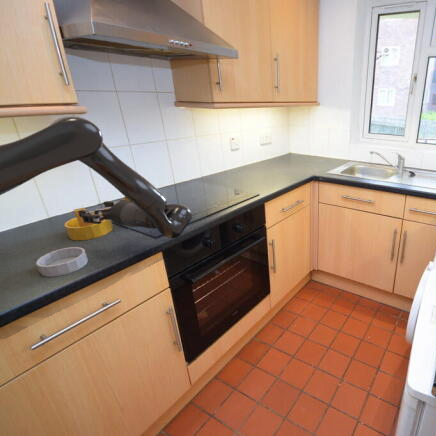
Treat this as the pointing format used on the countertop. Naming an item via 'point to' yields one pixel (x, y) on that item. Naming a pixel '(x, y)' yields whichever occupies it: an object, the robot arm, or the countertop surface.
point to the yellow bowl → (87, 229)
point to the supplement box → (81, 218)
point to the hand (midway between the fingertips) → (93, 208)
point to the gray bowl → (62, 261)
